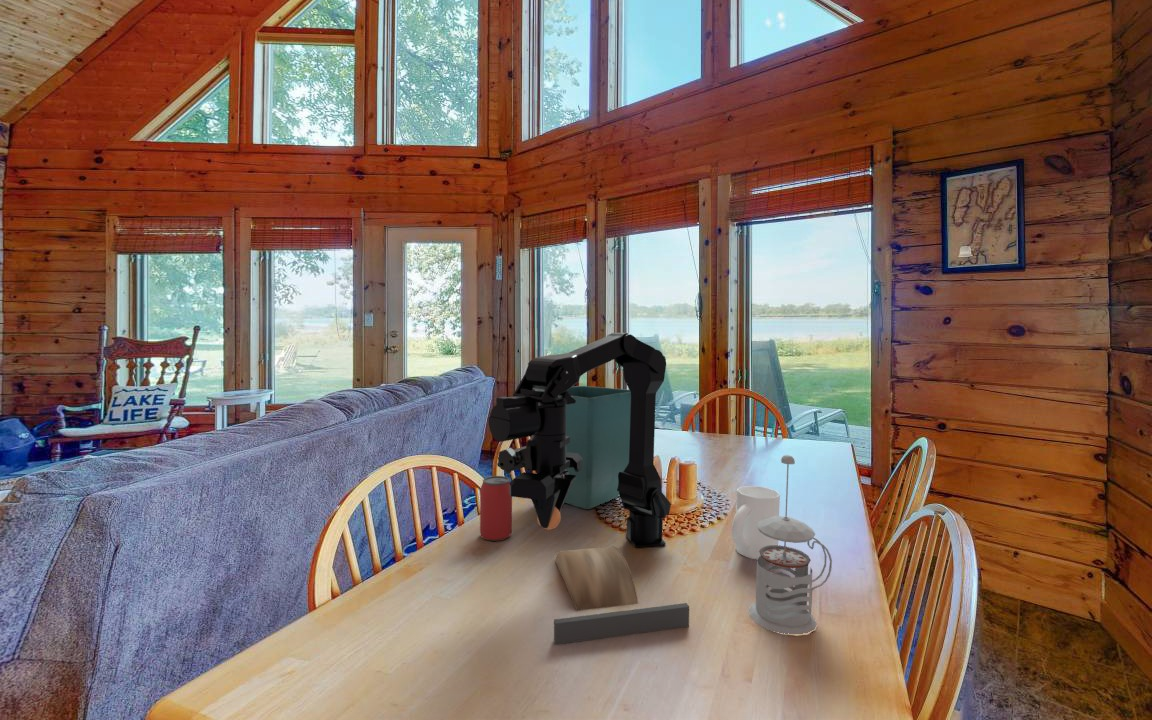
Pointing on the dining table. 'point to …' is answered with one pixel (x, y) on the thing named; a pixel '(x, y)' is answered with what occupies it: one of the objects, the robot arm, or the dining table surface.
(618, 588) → the hump
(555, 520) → the ball
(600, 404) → the flower pot
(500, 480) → the beer can
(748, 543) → the mug
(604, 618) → the bar
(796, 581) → the french press
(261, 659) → the dining table surface
